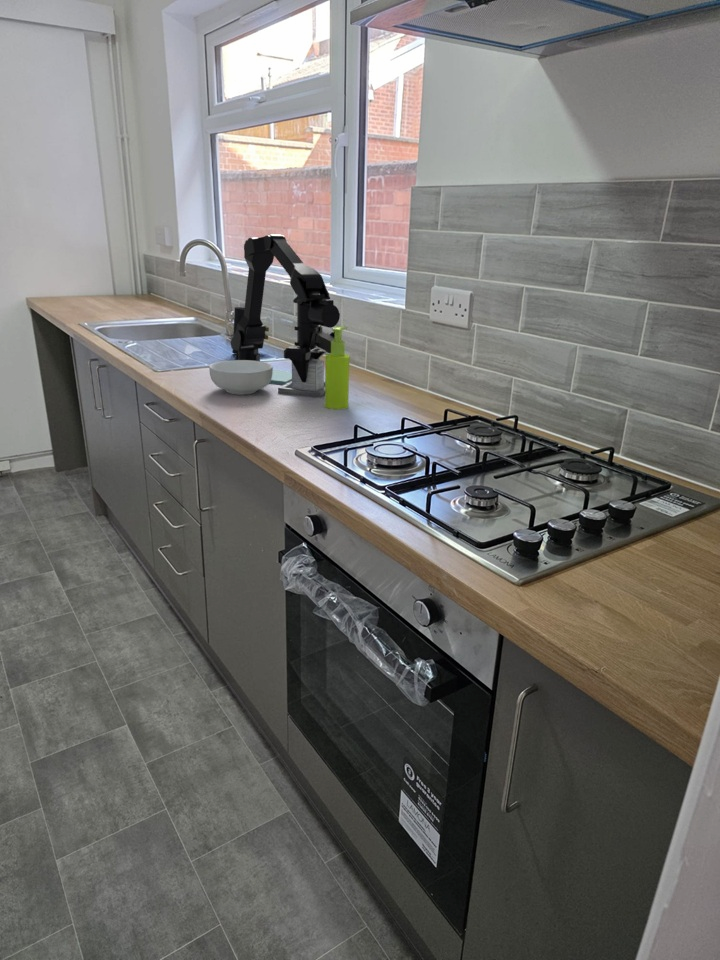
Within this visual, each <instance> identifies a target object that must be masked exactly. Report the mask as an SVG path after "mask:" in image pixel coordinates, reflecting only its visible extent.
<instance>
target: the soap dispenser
mask: <svg viewBox="0 0 720 960" xmlns="http://www.w3.org/2000/svg"><path fill="white" fill-rule="evenodd" d="M347 329H348V327H347V326H340V325H339V326H337V325H335V326H334V327H332V332H334V331H335V340H333V341H331V353H328V354H326V355H325V372H324V382H325V395H324V407H325V408H327V409H331V410H343V409H347V408H349V392H350V390H349V389H350V388H349V387H350V386H349V385H350V358H351V357H350V355H349V354H346V353H345V352H346V351H345V350H346V349H345V347H346V346H345V344H346V343H345V342H346V341H344V339H342V337H343V336H342V334H343V333H342V332H343V331H344V330H347Z"/></svg>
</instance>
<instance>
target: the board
mask: <svg viewBox="0 0 720 960" xmlns="http://www.w3.org/2000/svg"><path fill="white" fill-rule="evenodd" d="M290 381H292V371H287V370H280V369H279V370H278V369H273V373H272V378H271V381H270V382H269V384H272V385H273V384H274V385H281V386H283V385H285V384H287V383H289V382H290Z"/></svg>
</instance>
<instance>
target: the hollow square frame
mask: <svg viewBox="0 0 720 960" xmlns="http://www.w3.org/2000/svg"><path fill="white" fill-rule="evenodd" d="M277 389H278V391H277V393H278V394H284V395H292V396H300V397H301V396H303V397H311V398H322V397H323V396H324V397H325V381H324V388H323V389H321V390H319V391H310V390H302V389H293V388H292V381H290V382H289V383H287V384H285V385H280V386H278V388H277Z"/></svg>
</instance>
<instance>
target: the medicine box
mask: <svg viewBox="0 0 720 960" xmlns="http://www.w3.org/2000/svg"><path fill="white" fill-rule="evenodd" d="M291 372H292V388H293V389H302V390H310V391H319V390H321V389H323V388H324V382H325V361H324V359H319V360H318V359H313V360H312V361H311V362H310V363H309V364H308V372H307V379H306V382H302V381H301V379H300V377H299V375H298V372H297V370H296V368H295V366H294V365H293V363H292V362H291Z"/></svg>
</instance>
